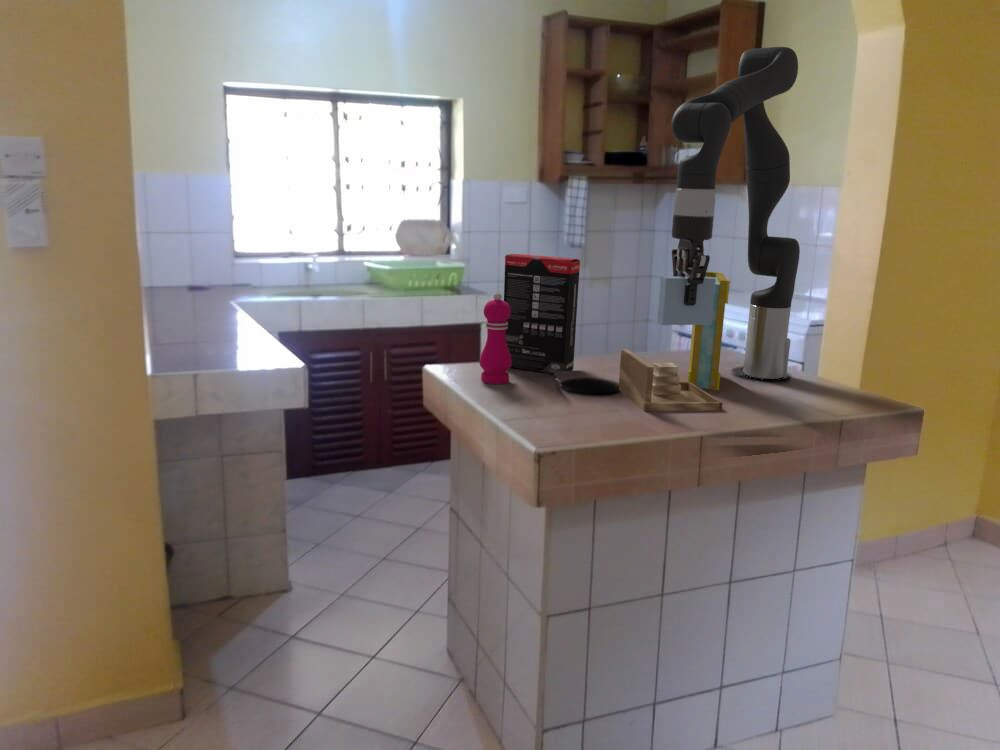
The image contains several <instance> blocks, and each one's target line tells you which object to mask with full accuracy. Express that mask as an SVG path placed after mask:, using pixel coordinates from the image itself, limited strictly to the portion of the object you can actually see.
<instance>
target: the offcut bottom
mask: <svg viewBox="0 0 1000 750" xmlns="http://www.w3.org/2000/svg"><path fill="white" fill-rule="evenodd" d="M680 392H681V385H680V384H679V385H662V386H656V385H655V384H652V394H653V395H680Z"/></svg>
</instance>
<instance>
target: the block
mask: <svg viewBox="0 0 1000 750" xmlns="http://www.w3.org/2000/svg"><path fill="white" fill-rule="evenodd" d="M659 279H660V283H659V293H658V294H659V295H658V307H657V308H658V309H657V321H656V322H657V323H658V324H660V325H662V326H671V325H672V326H692V325H712V314H713V303H714V292H715V282H716V279H715V278H712V277H705V278H704V282H703V284H699V286H697V295H696V304H695V305H694V306H687V305H684V293H685V286H686V285H685V277H679V276H673V275H672V276H669V275H667V276H664V275H663V276H660V278H659Z"/></svg>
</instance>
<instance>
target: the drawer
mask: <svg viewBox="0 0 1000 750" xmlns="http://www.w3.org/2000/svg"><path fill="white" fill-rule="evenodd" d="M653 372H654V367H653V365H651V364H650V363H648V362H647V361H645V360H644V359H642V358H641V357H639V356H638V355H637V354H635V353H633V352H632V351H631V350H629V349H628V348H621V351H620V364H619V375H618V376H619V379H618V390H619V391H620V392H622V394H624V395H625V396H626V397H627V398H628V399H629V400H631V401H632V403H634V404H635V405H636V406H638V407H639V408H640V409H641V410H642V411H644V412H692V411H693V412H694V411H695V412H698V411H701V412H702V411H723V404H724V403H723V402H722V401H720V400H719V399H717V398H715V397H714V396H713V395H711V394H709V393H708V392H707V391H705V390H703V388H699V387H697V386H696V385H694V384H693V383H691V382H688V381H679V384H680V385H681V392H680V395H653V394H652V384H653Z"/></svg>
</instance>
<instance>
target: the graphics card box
mask: <svg viewBox="0 0 1000 750" xmlns="http://www.w3.org/2000/svg"><path fill="white" fill-rule="evenodd" d="M580 269H581V260H580V259H578V258H570V257H560V256H547V255H535V254H523V253H520V254H519V253H508V254H505V256H504V283H503V284H504V285H503V301H505V302H507V303H508V304H509V306H510V309H511V314H510V317H509V318H508V319H507V321H506V322H508V324H507V325H508V328H507V329H506V334H505V335H506V344H507V347H508V349H509V352H510V355H511V359H512V365H511V367H510V368H515V369H521V370H527V371H534V372H541V373H544V374H552V375H554V374H555V373H554V372H572V371H573V370H574V364H575V363H574V361H575V348H576V347H575V346H576V332H577V331H576V330H577V312H578V298H579V284H580V283H579V282H580Z"/></svg>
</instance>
